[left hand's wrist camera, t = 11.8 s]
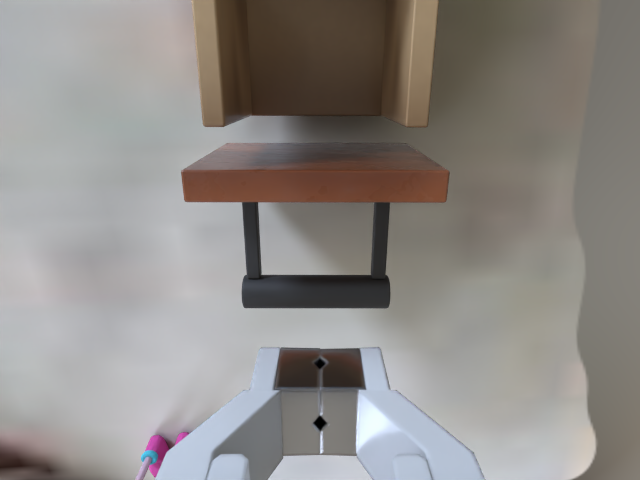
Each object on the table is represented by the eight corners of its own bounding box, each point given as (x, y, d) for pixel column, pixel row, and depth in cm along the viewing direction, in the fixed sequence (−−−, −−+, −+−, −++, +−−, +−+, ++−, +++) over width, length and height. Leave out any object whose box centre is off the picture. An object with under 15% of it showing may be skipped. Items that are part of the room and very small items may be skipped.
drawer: (398, 263, 24) (432, 338, 17) (235, 263, 24) (199, 338, 17) (439, -296, 16) (536, -606, 9) (193, -297, 16) (91, -609, 9)
